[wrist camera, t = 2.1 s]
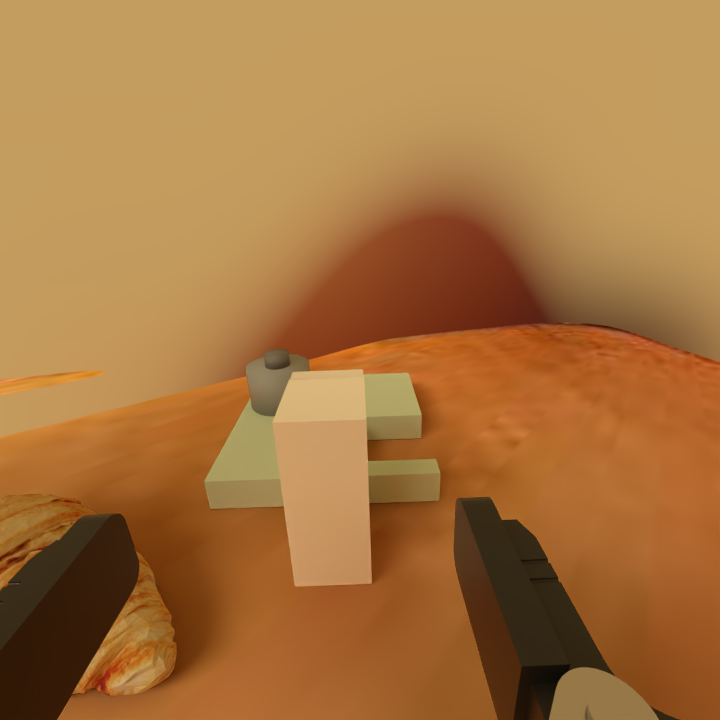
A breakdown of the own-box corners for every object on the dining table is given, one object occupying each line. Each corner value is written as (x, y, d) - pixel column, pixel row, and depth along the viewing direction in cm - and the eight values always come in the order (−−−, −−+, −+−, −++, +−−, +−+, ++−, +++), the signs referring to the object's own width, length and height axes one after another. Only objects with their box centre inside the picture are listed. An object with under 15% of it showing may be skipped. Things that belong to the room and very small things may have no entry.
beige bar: (294, 586, 22) (272, 422, 18) (307, 509, 28) (291, 371, 24) (372, 583, 22) (366, 419, 18) (368, 507, 28) (363, 369, 24)
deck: (210, 509, 28) (189, 418, 26) (264, 397, 45) (255, 335, 42) (439, 500, 28) (443, 409, 25) (408, 392, 45) (408, 329, 42)
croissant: (228, 669, 22) (250, 524, 22) (32, 877, 12) (81, 614, 13) (-17, 568, 28) (5, 458, 29) (-274, 652, 18) (-231, 484, 19)
